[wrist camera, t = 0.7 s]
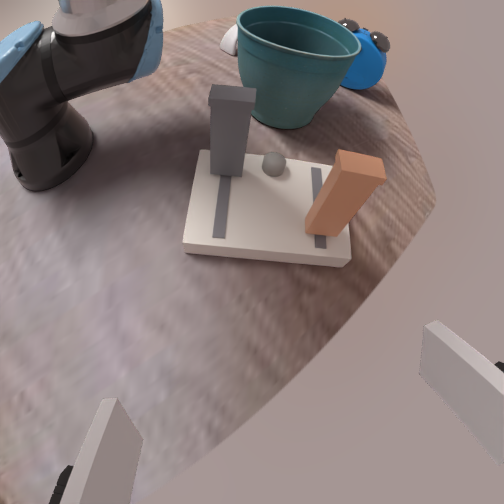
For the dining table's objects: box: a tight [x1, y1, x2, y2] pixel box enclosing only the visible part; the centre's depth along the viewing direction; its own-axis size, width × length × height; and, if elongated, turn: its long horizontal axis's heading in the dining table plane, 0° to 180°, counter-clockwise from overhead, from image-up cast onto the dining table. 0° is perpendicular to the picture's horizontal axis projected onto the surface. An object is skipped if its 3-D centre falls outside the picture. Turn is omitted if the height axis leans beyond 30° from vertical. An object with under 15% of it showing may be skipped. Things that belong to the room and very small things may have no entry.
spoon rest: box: [220, 24, 238, 55], centre depth 56 cm, size 24×12×7 cm, turn 134°
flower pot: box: [236, 6, 361, 129], centre depth 41 cm, size 18×18×17 cm
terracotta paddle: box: [305, 149, 387, 237], centre depth 30 cm, size 2×4×12 cm, turn 87°
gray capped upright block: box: [208, 84, 256, 177], centre depth 32 cm, size 2×4×12 cm, turn 87°
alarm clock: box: [338, 18, 390, 89], centre depth 48 cm, size 13×6×15 cm, turn 63°
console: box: [183, 149, 351, 267], centre depth 38 cm, size 14×20×4 cm
